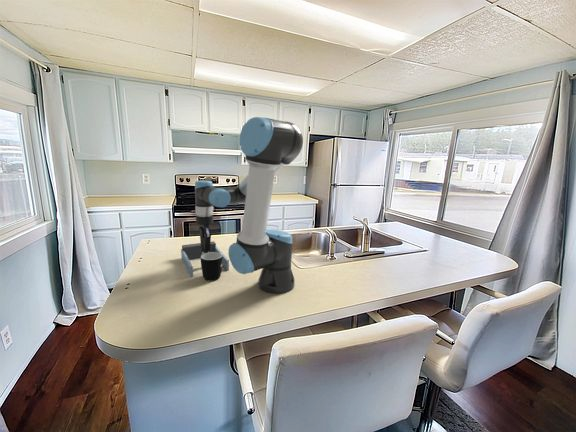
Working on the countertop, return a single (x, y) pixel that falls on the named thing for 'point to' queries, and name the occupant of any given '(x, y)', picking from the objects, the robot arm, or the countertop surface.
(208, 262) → the mug
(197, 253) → the trap block
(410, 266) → the countertop surface
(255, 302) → the countertop surface
